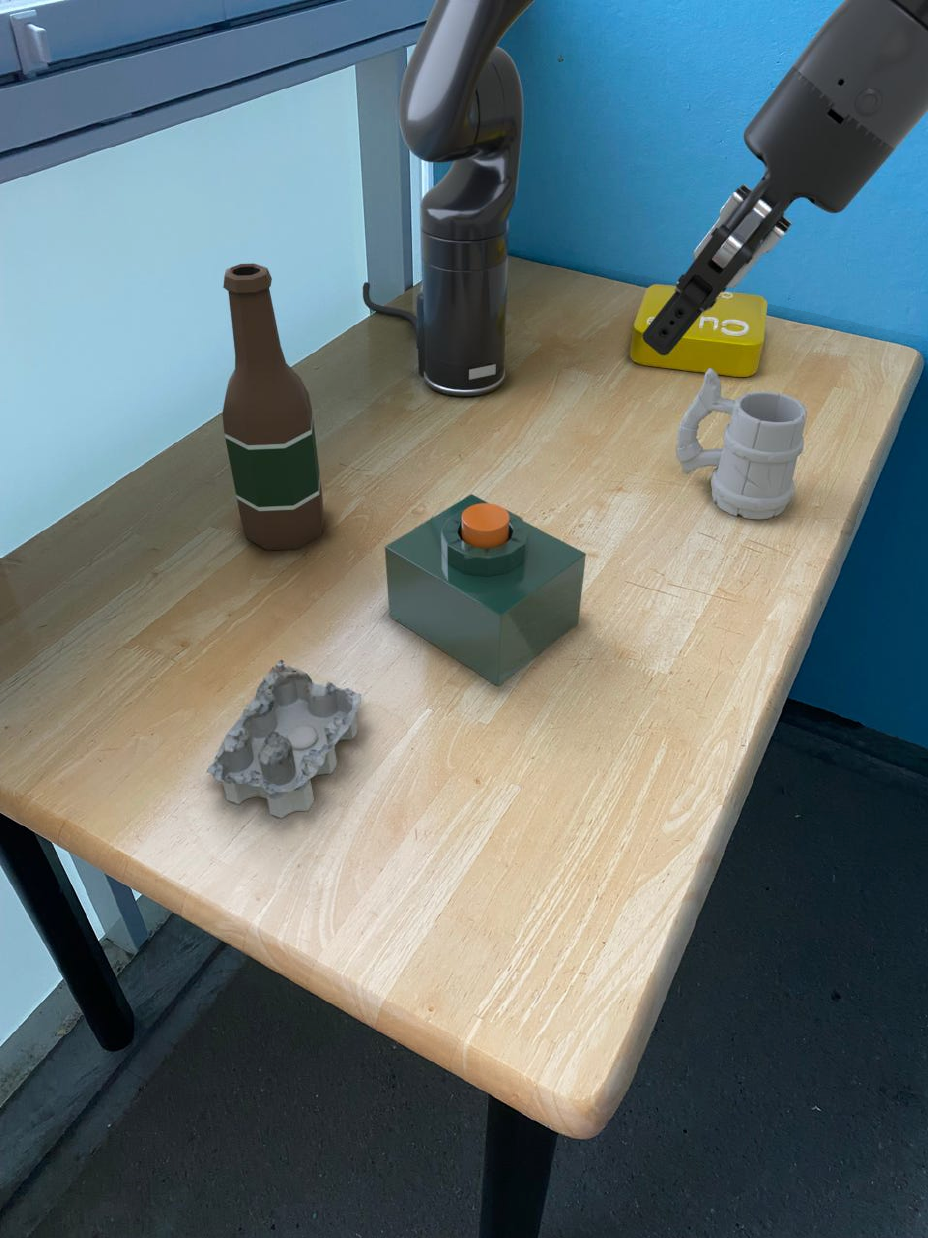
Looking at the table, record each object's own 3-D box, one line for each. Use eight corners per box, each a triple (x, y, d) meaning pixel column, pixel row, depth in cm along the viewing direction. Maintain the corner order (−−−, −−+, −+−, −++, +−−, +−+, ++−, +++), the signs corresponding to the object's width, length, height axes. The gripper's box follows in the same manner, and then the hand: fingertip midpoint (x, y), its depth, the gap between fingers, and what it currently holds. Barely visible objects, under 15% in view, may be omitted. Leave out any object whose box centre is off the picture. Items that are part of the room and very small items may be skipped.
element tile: (761, 327, 119) (769, 290, 116) (755, 380, 108) (764, 341, 105) (643, 314, 122) (648, 277, 119) (626, 364, 111) (631, 325, 108)
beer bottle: (258, 562, 82) (209, 297, 66) (231, 517, 87) (181, 260, 72) (340, 538, 85) (312, 277, 69) (310, 496, 90) (278, 244, 74)
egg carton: (287, 692, 71) (281, 652, 68) (375, 722, 68) (372, 682, 65) (202, 794, 63) (191, 754, 60) (297, 832, 61) (289, 793, 58)
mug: (779, 530, 86) (811, 414, 78) (656, 497, 90) (675, 383, 82) (798, 489, 91) (830, 376, 83) (681, 459, 95) (701, 349, 87)
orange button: (451, 535, 71) (451, 517, 70) (483, 516, 73) (483, 497, 72) (487, 555, 69) (487, 536, 68) (518, 534, 71) (519, 515, 70)
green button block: (389, 616, 77) (383, 527, 71) (470, 561, 82) (471, 475, 76) (498, 687, 71) (501, 596, 65) (578, 623, 76) (588, 534, 70)
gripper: (805, 61, 58) (632, 292, 68) (787, 57, 47) (585, 331, 58) (898, 137, 58) (711, 357, 68) (901, 150, 47) (679, 408, 58)
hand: (654, 345), depth 63 cm, fingers closed
